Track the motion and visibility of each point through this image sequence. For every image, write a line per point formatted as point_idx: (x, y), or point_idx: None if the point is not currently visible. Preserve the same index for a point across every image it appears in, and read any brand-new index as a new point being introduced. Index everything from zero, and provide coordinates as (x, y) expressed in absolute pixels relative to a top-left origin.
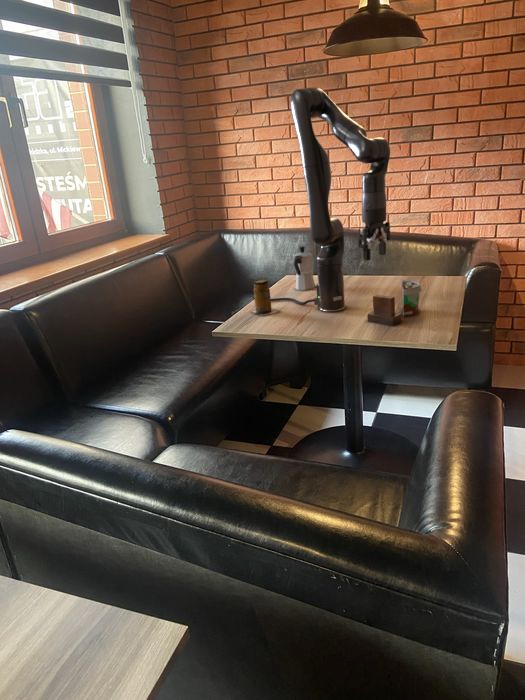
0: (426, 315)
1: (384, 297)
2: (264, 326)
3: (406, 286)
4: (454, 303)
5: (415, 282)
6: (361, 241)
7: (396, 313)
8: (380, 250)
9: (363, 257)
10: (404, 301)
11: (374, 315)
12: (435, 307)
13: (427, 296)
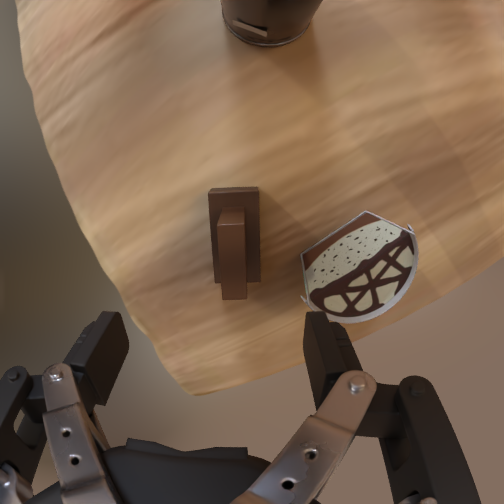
0: None
1: (223, 273)
2: (55, 2)
3: (363, 278)
4: (434, 296)
5: (408, 282)
6: (16, 412)
7: (256, 269)
8: (312, 341)
9: (86, 328)
10: (305, 280)
11: (210, 220)
12: None
13: (471, 213)
